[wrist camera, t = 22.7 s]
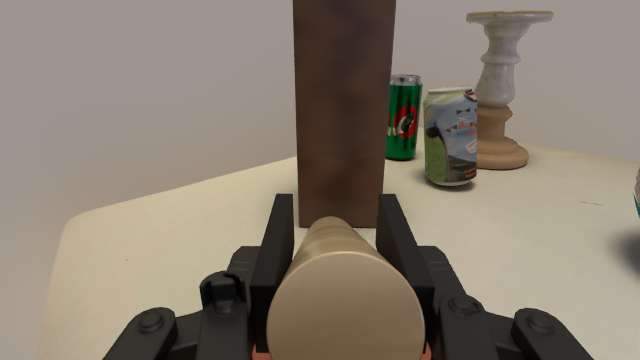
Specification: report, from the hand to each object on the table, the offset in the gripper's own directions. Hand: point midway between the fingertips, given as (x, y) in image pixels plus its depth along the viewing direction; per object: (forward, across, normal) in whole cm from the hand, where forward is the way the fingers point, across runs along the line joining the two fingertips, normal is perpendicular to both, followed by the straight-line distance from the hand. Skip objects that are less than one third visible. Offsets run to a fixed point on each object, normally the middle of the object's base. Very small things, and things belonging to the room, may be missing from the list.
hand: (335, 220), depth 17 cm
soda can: (+38, +11, -10) cm, 40 cm away
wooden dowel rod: (0, 0, -5) cm, 5 cm away
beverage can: (+28, +15, -10) cm, 33 cm away
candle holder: (+38, +24, -10) cm, 46 cm away
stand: (+21, +1, -10) cm, 23 cm away
